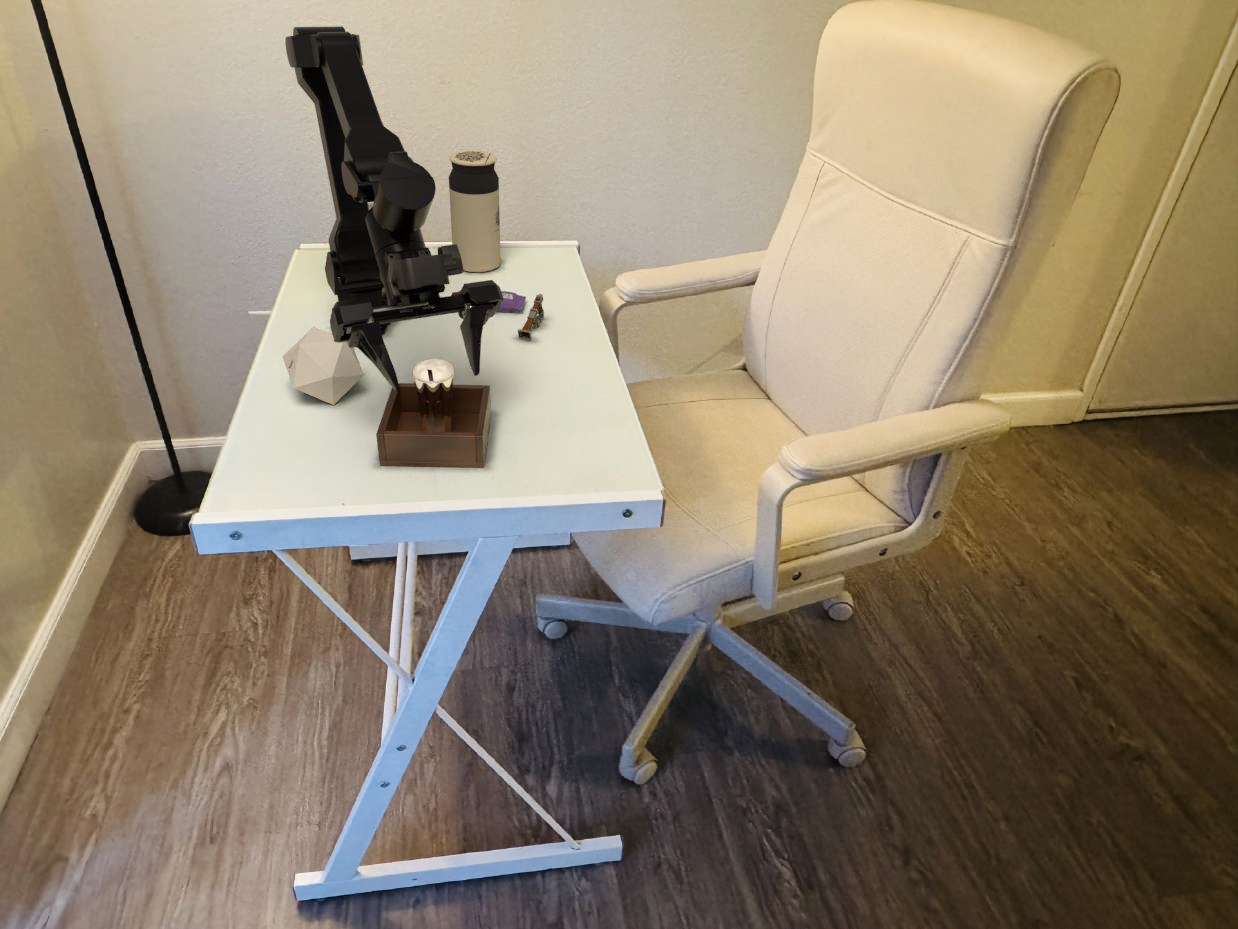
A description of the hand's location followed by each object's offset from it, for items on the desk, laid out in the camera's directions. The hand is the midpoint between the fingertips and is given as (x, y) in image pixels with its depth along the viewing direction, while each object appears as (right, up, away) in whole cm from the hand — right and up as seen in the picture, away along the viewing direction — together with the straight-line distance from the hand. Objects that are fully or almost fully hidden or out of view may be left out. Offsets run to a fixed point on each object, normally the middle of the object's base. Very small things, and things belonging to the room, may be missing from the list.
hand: (438, 381), depth 96 cm
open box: (-1, -6, +6) cm, 9 cm away
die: (-17, 0, +13) cm, 21 cm away
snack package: (0, +15, +37) cm, 40 cm away
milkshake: (-1, -6, +6) cm, 8 cm away
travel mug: (-4, +25, +51) cm, 57 cm away
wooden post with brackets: (+7, +10, +31) cm, 34 cm away
